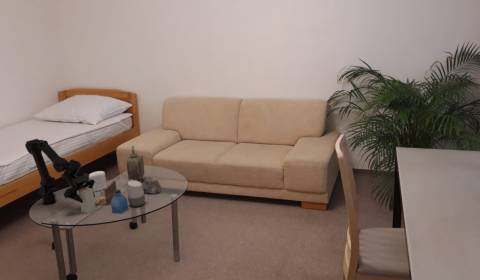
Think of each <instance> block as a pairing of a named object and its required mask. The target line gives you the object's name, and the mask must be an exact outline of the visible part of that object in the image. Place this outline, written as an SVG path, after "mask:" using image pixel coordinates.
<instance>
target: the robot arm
mask: <svg viewBox="0 0 480 280" xmlns="http://www.w3.org/2000/svg"><path fill="white" fill-rule="evenodd" d="M25 148H26V151H27V152H28V153H29V154H30V155H31V156H32V157H33V160H34V163H35V166H36V168H37V171H38V173H39V174H38V175H39V177H40V183H39V185H40V188H39V189H38V194H39V195H40V196H41V197H42V205H43V204H45V205H50V204H49V203H54V204H55V203H56V201H57V195H56V193H55V192H56V191H57V187H58V184H57V181H56V178H55V177H54V176H51V175H50V172H49V170H48V166H47V163H46V162H45V158H44V156H43V153H44V154H45V156H46V157H47V158H48V159H49V160H50V162H51V163H52V167H53V168H54V170H55V172H57V173H61V179H65V180H66V182H67V183H68V184H67V185H68V187H69V186H70V187H69V188H66V189H65V191H64V193H63V197H64V199H71V200H74V201H76V202H79V203H80V202H81V203H83V201H82V199H81V198H80V197H79V193H78V191H79V190H81V189H84V188H92V189H93V185H94V183H95V181H94V180H93V179H91V180H89V174H88V173H87V172H86V173H83V174H82V175H81V176H79V175H78V176H77V175H76V174H77V173H78V172H79V170H80V169H81V167H82V164H81V162H80V161H78V160H76V159H70V160H69V161H68V160H67V159H66V158H64V157H61V156H60V155H59V153H57V152H56V151H55V150H54V149H53V147H51V145H50V144H49V142H48V140H44V139H39V138H34V139H29V140H26V142H25ZM42 152H43V153H42ZM85 181H86V182H85ZM93 194H94V198H95V197H96V194H95V192H94V191H93Z"/></svg>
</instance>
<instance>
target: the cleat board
mask: <svg viewBox="0 0 480 280" xmlns="http://www.w3.org/2000/svg"><path fill="white" fill-rule="evenodd" d="M116 182H117V181H116V180H112V181H111V182H110V183H109V184H108V185H107V187H106V188H105V189H104V195H105V196H101V195H100V196H99V197H98V198H97V199H96V200H95V206H110V205H111V200H112V198H113V197H114V196H116V195H115V190H117V184H116Z"/></svg>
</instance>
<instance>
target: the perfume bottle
mask: <svg viewBox="0 0 480 280" xmlns="http://www.w3.org/2000/svg"><path fill="white" fill-rule="evenodd" d="M115 195H116V196H114V197H113V198H112V200H111V203H110V206H111V213H115V214H123V213H125V212H126V211H127V210H129V202H128V197H126V196H125V195H123V194H122V192H121V189H118V188H117V189H116V190H115Z"/></svg>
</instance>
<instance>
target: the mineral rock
mask: <svg viewBox="0 0 480 280" xmlns="http://www.w3.org/2000/svg"><path fill="white" fill-rule="evenodd" d="M141 184H142V188H143V192H144V193H145V194H146V193H148V194H152V195H157V194H159V193H161V191H162V187H161V184H160V182H159V181H158V179H157V178H153V176H152V177H151V176H149V177H148V178H146V179H144V180H143V182H141Z"/></svg>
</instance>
